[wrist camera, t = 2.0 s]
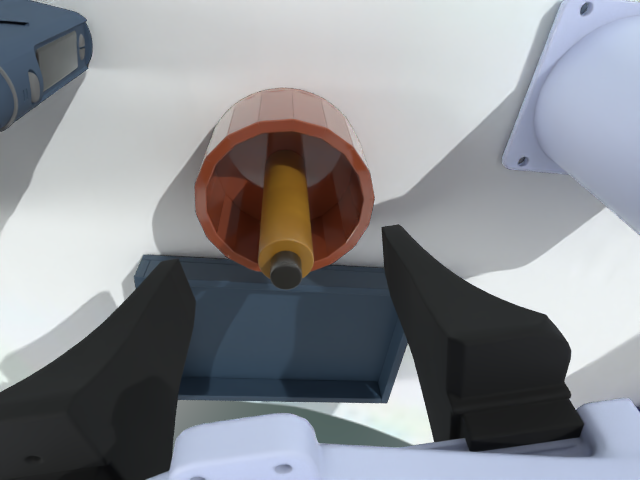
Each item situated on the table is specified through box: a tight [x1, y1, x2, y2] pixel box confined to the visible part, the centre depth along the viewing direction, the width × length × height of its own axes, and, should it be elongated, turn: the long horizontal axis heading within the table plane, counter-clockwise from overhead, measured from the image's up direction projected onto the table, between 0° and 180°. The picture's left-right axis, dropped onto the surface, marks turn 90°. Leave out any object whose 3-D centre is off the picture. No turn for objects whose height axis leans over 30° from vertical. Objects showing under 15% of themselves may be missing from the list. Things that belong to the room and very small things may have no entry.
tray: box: [134, 255, 408, 403], centre depth 28 cm, size 16×10×2 cm, turn 83°
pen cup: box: [194, 88, 375, 272], centre depth 21 cm, size 8×8×4 cm
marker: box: [258, 150, 314, 290], centre depth 19 cm, size 2×2×8 cm
